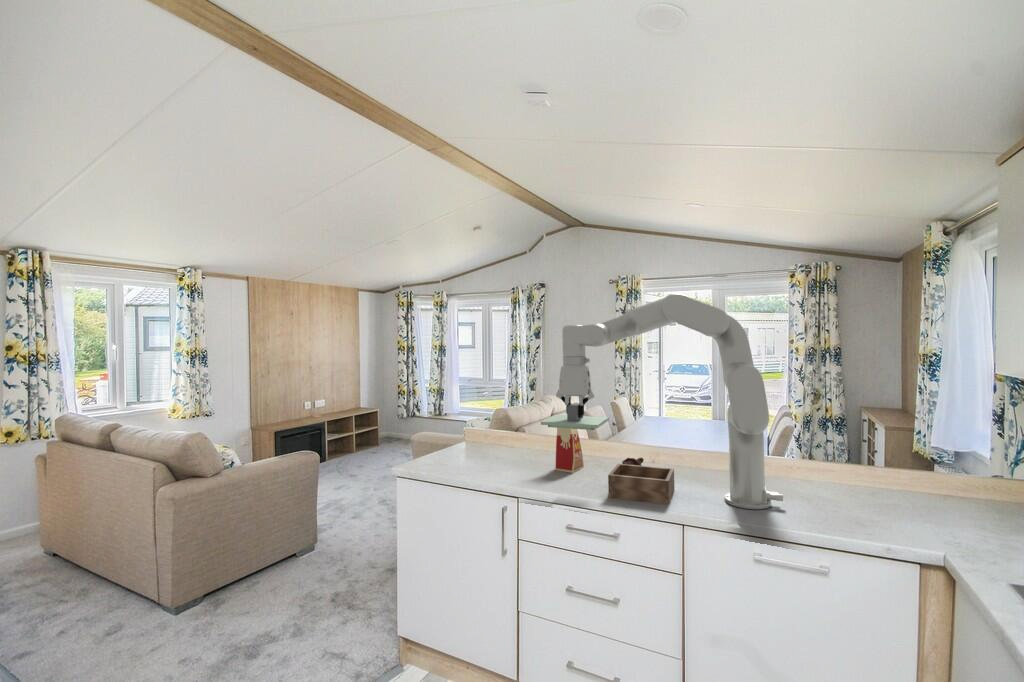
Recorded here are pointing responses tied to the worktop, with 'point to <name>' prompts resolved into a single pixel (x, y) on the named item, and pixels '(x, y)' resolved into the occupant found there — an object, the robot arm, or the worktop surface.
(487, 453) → the worktop surface
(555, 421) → the lid
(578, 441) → the milk carton
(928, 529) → the worktop surface
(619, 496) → the box
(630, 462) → the icecream
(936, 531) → the worktop surface
